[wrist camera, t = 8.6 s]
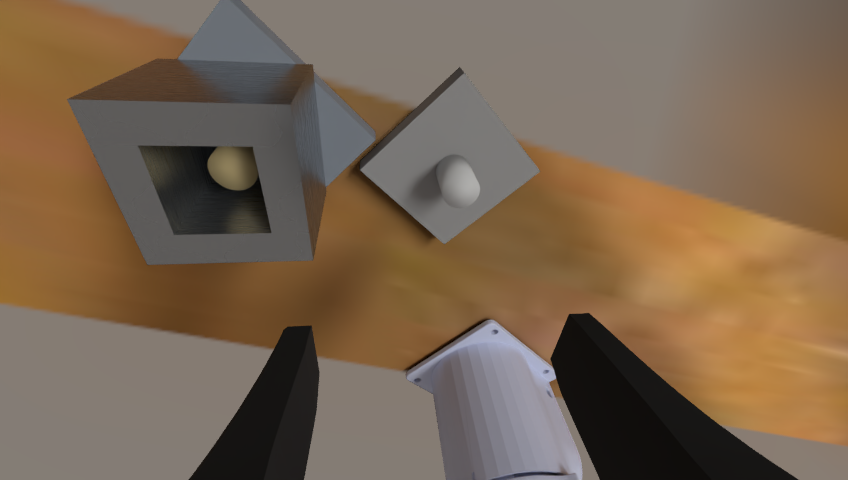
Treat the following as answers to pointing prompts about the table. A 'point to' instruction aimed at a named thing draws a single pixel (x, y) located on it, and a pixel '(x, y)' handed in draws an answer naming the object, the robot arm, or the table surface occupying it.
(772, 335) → the table surface
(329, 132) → the hub plate
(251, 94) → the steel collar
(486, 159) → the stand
